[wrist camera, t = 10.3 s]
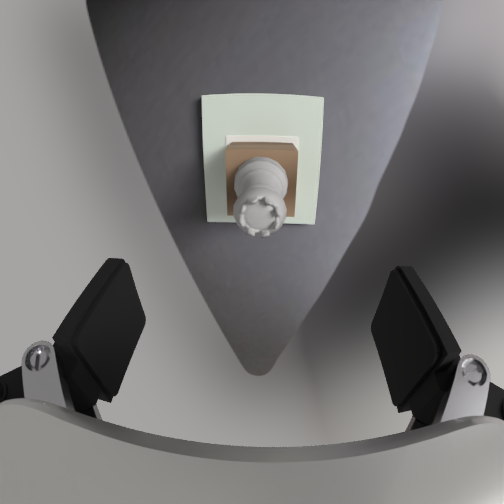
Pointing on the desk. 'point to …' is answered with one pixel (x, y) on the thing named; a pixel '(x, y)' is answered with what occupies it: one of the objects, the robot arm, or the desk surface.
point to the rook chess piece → (260, 196)
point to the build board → (262, 130)
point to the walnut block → (274, 150)
